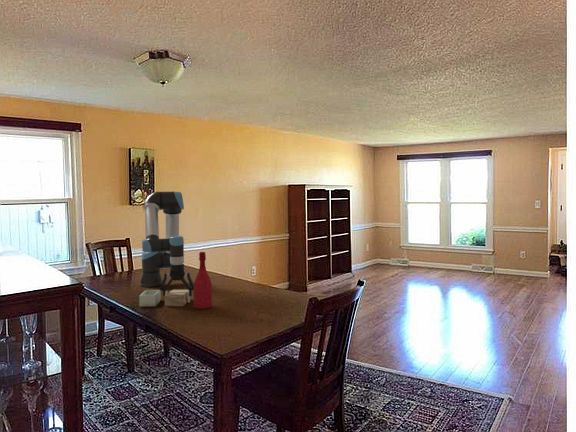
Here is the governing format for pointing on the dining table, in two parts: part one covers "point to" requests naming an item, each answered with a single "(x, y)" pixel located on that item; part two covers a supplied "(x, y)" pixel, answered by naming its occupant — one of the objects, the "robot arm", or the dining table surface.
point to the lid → (176, 298)
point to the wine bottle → (202, 286)
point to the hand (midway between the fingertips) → (177, 302)
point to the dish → (150, 297)
